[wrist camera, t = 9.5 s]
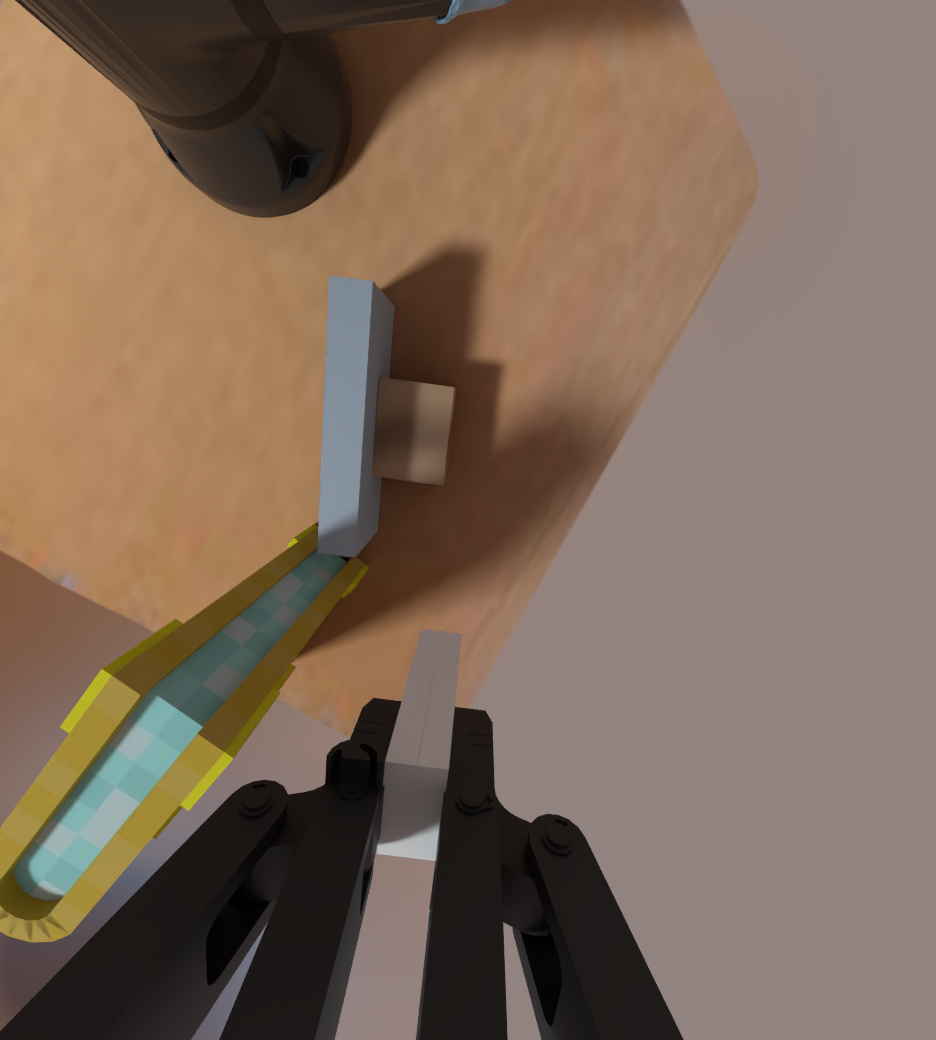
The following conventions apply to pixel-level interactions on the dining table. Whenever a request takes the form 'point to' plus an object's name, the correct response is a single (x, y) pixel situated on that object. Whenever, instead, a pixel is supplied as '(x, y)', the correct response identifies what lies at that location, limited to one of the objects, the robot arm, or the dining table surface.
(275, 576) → the yellow rounded trough
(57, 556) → the dining table surface
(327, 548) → the slate board
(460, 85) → the dining table surface
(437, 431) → the brown rectangular block
